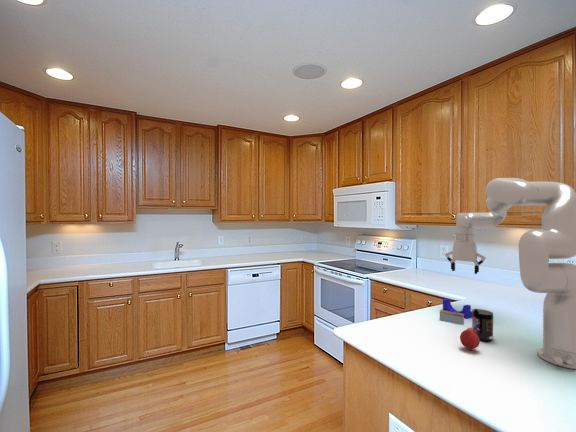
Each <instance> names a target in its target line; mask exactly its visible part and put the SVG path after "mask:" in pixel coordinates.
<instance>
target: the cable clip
mask: <svg viewBox="0 0 576 432" xmlns="http://www.w3.org/2000/svg"><path fill="white" fill-rule="evenodd" d="M462 306H463V307H462V309H461V310H458V309H455V308H454V307H453V305H452V304H451V299H450V298H444V299H442V310H446V311H451V312H456V313H461V314H464V320H468V319H472V309H471V308H472V305H470V304H464V305H462Z"/></svg>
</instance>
